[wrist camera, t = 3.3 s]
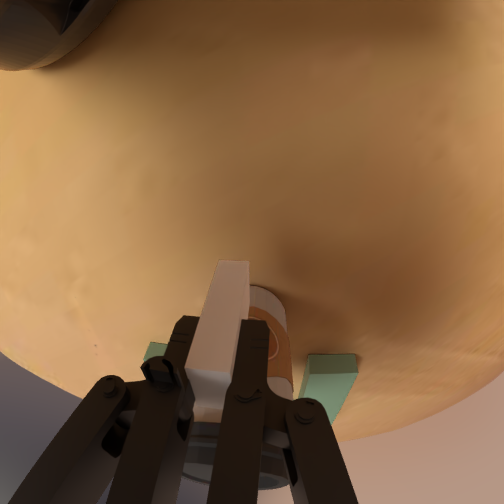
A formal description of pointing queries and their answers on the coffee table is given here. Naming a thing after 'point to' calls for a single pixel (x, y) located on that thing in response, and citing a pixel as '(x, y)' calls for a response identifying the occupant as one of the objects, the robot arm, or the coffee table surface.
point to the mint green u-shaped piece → (313, 377)
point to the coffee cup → (279, 382)
